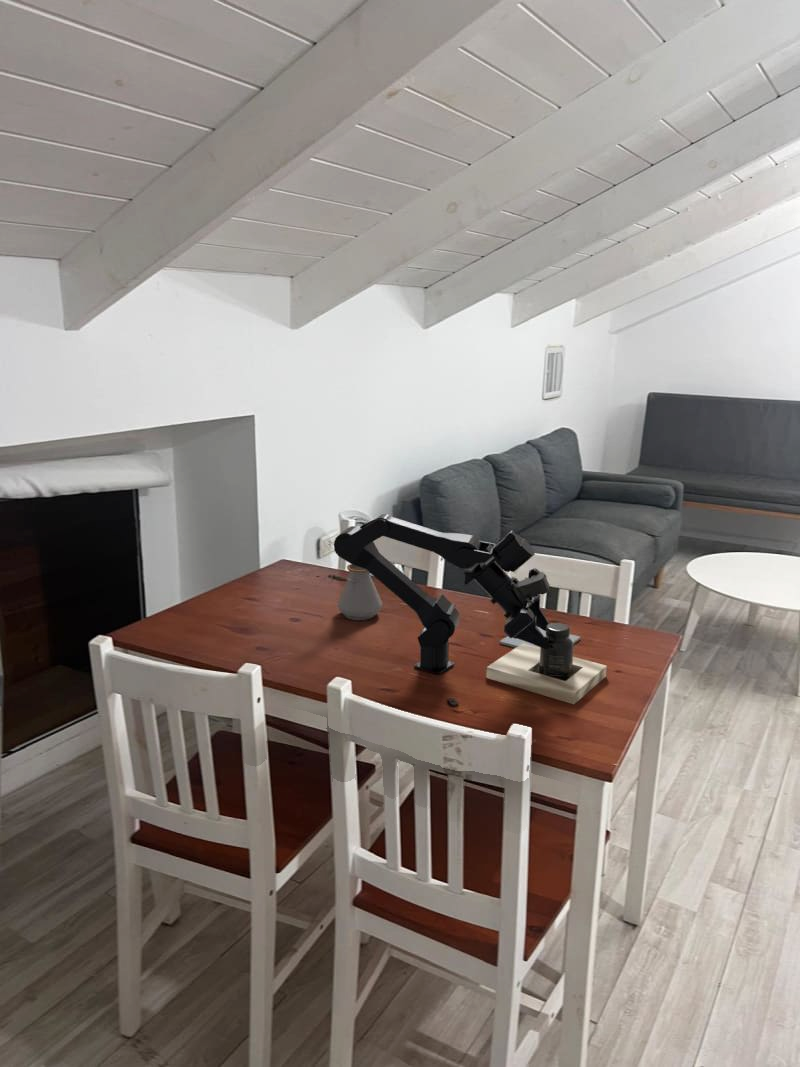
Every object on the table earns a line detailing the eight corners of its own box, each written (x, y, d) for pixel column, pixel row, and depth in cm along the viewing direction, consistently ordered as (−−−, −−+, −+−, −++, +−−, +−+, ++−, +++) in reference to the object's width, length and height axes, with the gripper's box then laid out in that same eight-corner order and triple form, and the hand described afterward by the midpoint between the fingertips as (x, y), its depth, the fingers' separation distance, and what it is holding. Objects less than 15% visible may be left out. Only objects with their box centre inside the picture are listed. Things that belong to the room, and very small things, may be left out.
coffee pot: (351, 604, 214) (351, 550, 210) (390, 611, 209) (390, 555, 205) (307, 631, 195) (306, 572, 192) (349, 639, 191) (348, 579, 187)
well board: (574, 704, 160) (574, 692, 159) (486, 677, 171) (486, 666, 170) (605, 676, 172) (606, 665, 171) (522, 653, 183) (522, 643, 183)
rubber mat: (554, 658, 181) (554, 655, 181) (499, 643, 189) (499, 641, 189) (580, 639, 192) (580, 636, 192) (527, 625, 200) (527, 623, 200)
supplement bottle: (577, 679, 170) (581, 626, 167) (560, 690, 166) (563, 635, 163) (549, 670, 175) (553, 618, 172) (532, 679, 170) (535, 626, 167)
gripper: (523, 574, 156) (578, 632, 157) (530, 548, 174) (580, 601, 174) (481, 609, 160) (535, 666, 161) (493, 580, 178) (541, 631, 178)
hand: (549, 639), depth 168 cm, fingers open, 9 cm apart
